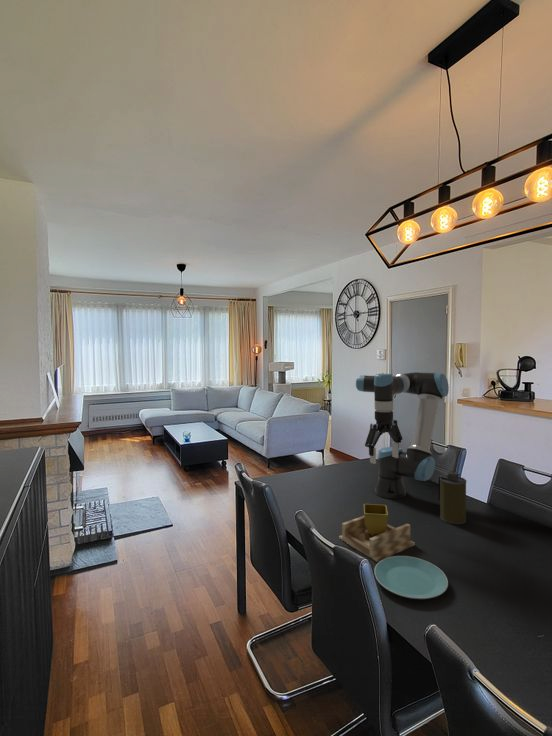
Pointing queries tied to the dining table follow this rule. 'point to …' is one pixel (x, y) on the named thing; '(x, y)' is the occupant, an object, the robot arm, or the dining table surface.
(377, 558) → the peg frame
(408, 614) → the dining table surface
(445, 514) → the canister
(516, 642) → the dining table surface
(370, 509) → the flower pot
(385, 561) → the plate
